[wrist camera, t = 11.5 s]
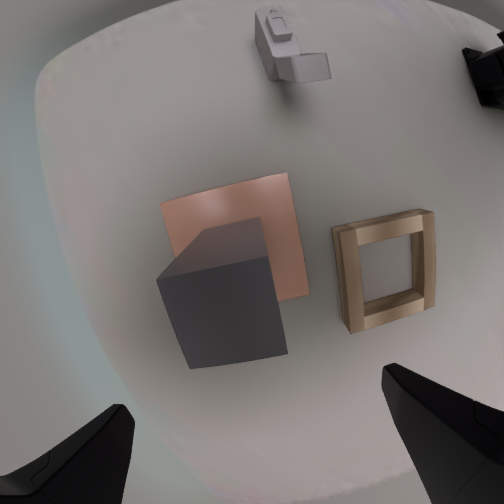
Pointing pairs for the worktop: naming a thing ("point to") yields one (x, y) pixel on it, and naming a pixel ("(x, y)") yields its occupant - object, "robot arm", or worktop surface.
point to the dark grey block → (224, 297)
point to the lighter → (286, 50)
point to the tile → (242, 208)
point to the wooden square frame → (350, 270)
